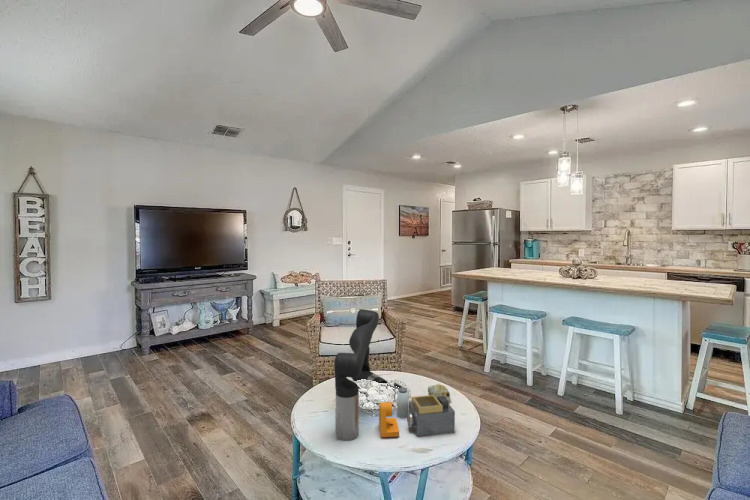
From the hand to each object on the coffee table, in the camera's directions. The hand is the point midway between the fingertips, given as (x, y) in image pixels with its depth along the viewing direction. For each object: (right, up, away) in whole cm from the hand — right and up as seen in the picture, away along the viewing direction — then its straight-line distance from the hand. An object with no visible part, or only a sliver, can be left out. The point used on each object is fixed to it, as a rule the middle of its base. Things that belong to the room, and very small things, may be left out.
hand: (396, 396), depth 165 cm
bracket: (-4, -8, -16) cm, 18 cm away
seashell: (+21, -6, +11) cm, 25 cm away
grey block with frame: (+14, -7, -14) cm, 21 cm away
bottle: (+3, -7, -4) cm, 8 cm away
